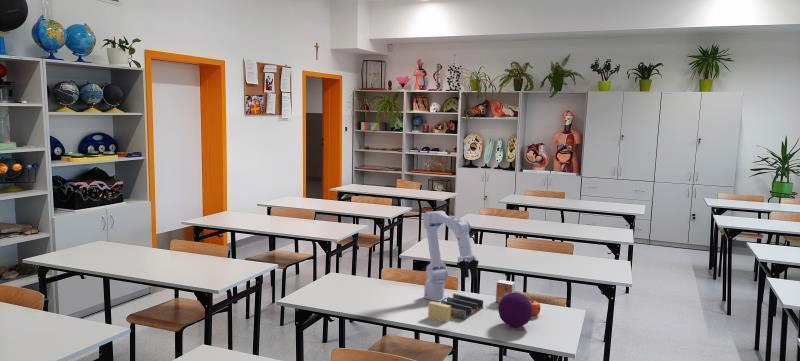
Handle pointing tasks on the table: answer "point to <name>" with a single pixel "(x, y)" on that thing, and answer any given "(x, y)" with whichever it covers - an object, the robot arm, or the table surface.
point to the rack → (463, 306)
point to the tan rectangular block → (439, 311)
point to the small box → (504, 289)
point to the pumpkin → (535, 307)
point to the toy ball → (515, 309)
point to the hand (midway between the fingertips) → (470, 277)
